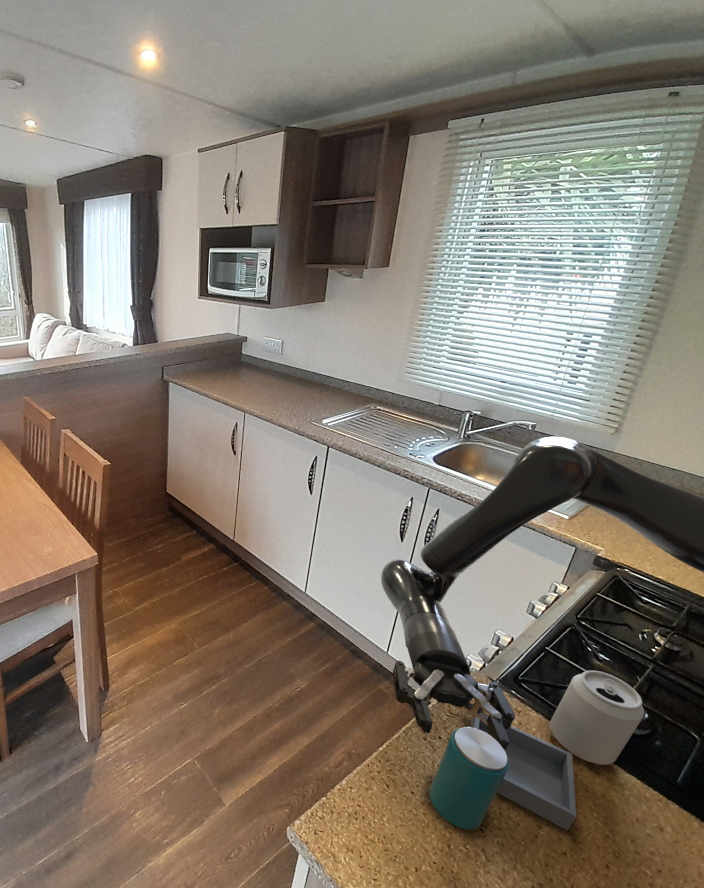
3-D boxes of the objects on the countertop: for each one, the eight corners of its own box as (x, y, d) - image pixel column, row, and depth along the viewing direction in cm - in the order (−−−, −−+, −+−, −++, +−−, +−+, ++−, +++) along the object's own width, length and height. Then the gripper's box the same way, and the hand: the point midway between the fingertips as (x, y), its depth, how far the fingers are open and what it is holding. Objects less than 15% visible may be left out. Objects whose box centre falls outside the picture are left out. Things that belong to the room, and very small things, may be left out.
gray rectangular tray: (564, 767, 69) (572, 753, 68) (567, 830, 62) (576, 816, 60) (470, 722, 75) (476, 709, 74) (463, 775, 68) (469, 761, 67)
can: (545, 745, 72) (575, 689, 67) (548, 711, 77) (576, 656, 72) (614, 779, 67) (652, 722, 62) (613, 741, 72) (647, 685, 67)
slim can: (483, 801, 65) (511, 743, 60) (479, 841, 61) (509, 782, 56) (432, 772, 69) (455, 716, 64) (425, 808, 64) (449, 750, 60)
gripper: (390, 620, 79) (411, 704, 65) (491, 641, 75) (537, 736, 61) (380, 654, 82) (398, 741, 68) (477, 675, 78) (518, 773, 64)
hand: (464, 738), depth 65 cm, fingers open, 8 cm apart
